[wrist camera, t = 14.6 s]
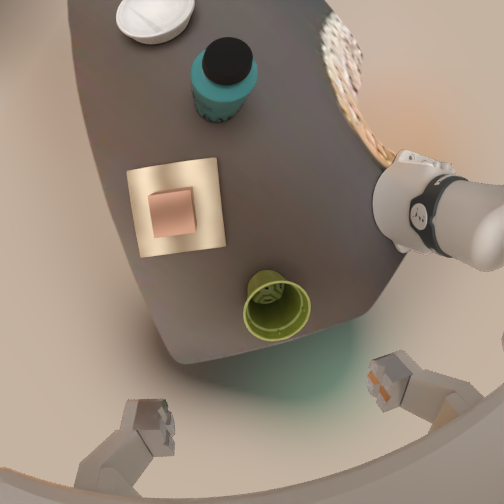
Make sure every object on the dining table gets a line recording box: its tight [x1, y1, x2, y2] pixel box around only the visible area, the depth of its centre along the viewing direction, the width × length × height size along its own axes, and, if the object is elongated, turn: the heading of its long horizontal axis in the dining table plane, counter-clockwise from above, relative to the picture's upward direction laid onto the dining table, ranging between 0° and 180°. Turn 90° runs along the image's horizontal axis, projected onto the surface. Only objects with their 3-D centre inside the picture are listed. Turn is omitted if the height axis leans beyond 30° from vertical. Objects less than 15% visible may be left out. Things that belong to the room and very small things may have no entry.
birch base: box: [127, 157, 226, 258], centre depth 38 cm, size 12×12×4 cm
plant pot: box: [243, 270, 311, 341], centre depth 42 cm, size 9×9×9 cm
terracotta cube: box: [148, 186, 197, 238], centre depth 34 cm, size 5×5×5 cm
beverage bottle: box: [191, 37, 258, 123], centre depth 27 cm, size 6×7×20 cm
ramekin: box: [116, 0, 195, 44], centre depth 28 cm, size 11×11×5 cm
